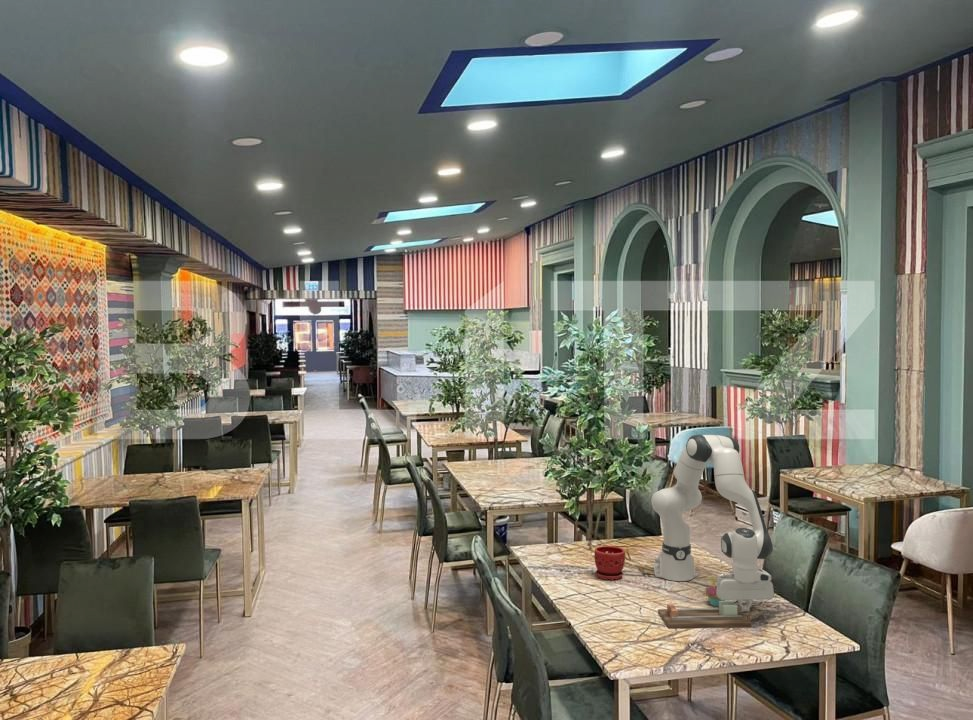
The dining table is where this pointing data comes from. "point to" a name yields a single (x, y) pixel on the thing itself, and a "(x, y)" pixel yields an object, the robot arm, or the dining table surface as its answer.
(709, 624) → the guide board
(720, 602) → the block
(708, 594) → the cupcake
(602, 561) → the plant pot
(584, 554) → the dining table surface
